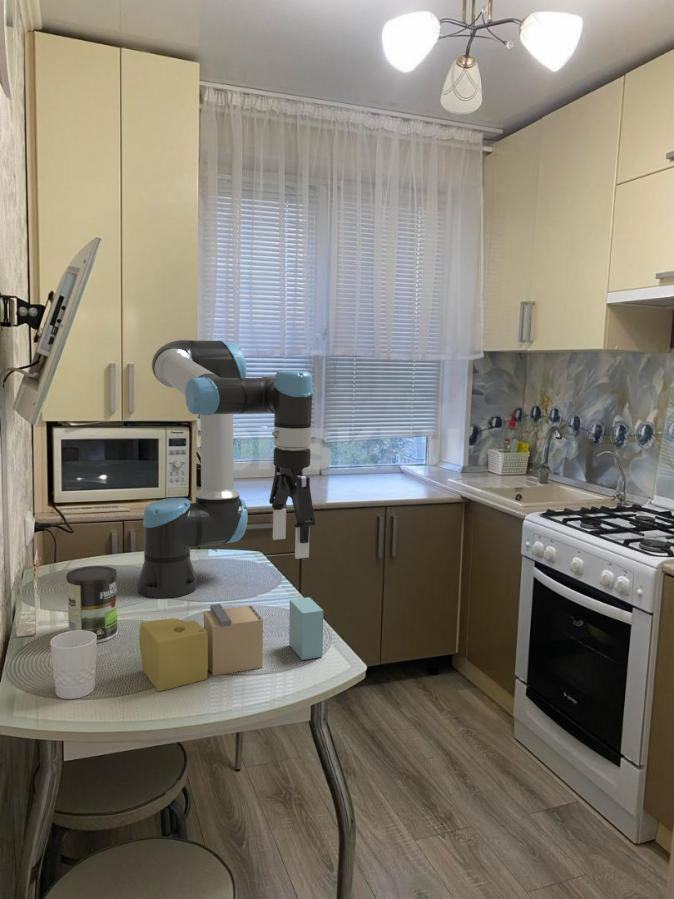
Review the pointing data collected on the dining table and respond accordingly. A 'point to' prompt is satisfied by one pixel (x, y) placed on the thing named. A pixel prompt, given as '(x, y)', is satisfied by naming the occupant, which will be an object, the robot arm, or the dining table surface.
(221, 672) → the slotted tan box
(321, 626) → the light blue box
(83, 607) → the coffee can
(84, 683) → the white cup
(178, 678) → the cheese
